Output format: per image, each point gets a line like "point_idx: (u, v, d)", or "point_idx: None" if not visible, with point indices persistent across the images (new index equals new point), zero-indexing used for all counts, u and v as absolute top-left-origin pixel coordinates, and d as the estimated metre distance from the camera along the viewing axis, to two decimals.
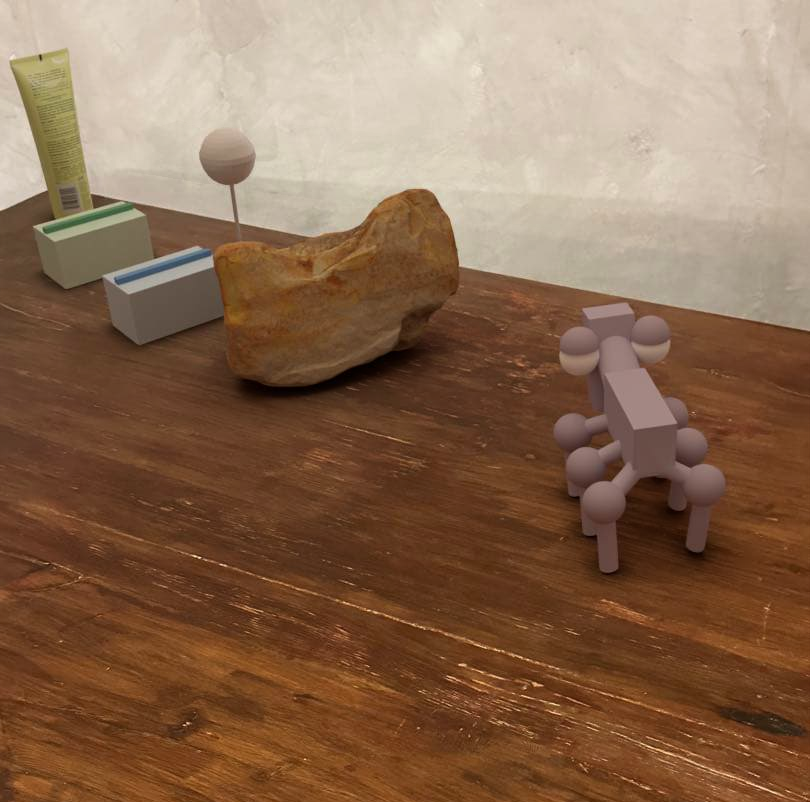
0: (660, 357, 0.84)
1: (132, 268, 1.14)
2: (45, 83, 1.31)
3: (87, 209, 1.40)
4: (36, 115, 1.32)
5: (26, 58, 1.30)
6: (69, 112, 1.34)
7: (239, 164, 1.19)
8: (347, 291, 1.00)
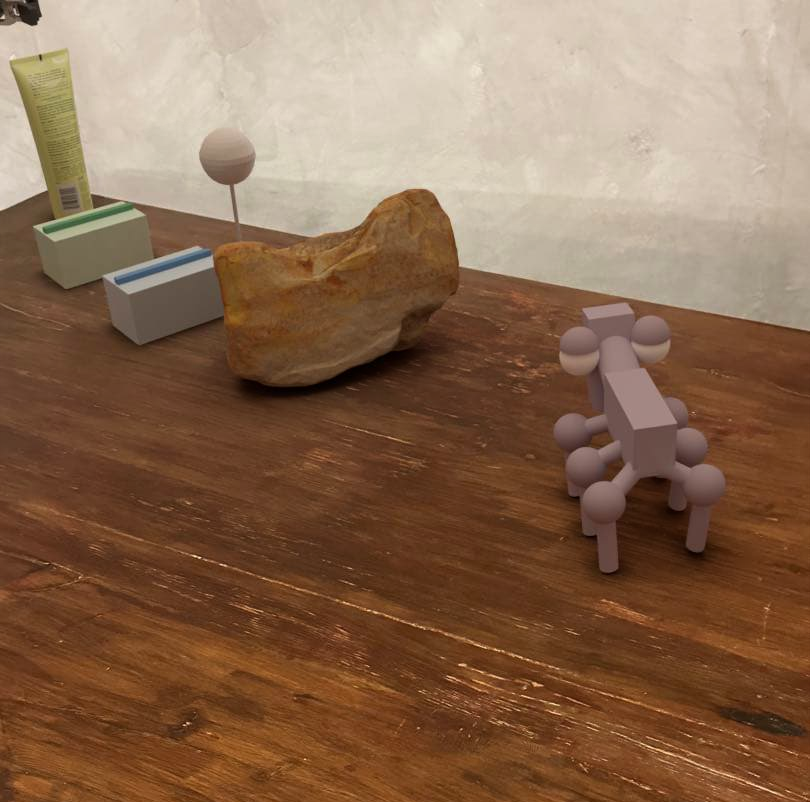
0: (660, 357, 0.84)
1: (132, 268, 1.14)
2: (45, 83, 1.31)
3: (87, 209, 1.40)
4: (36, 115, 1.32)
5: (26, 58, 1.30)
6: (69, 112, 1.34)
7: (239, 164, 1.19)
8: (347, 291, 1.00)
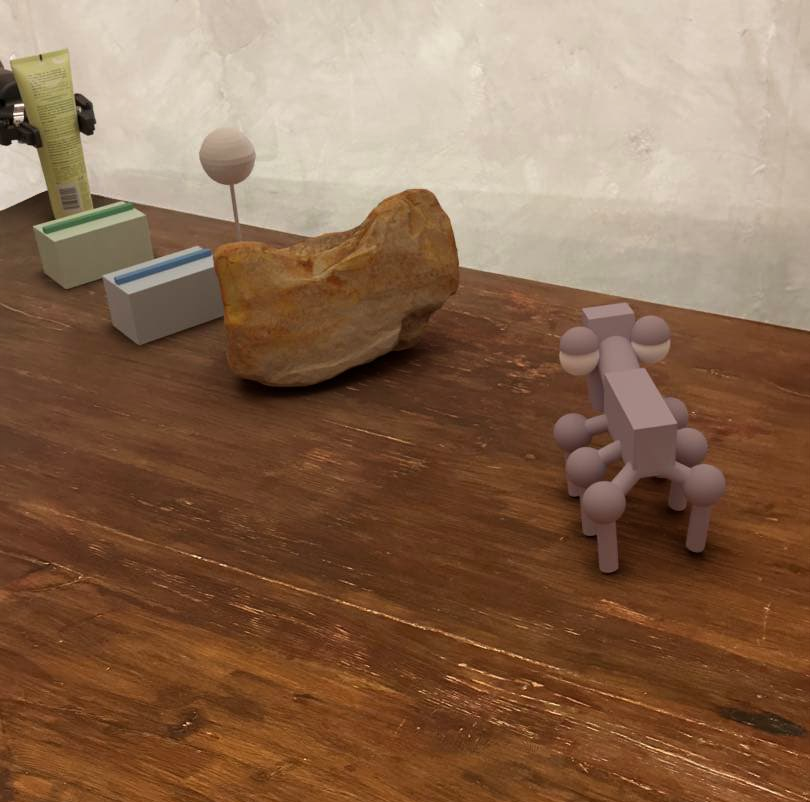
0: (660, 357, 0.84)
1: (132, 268, 1.14)
2: (45, 83, 1.31)
3: (87, 209, 1.40)
4: (36, 115, 1.32)
5: (26, 58, 1.30)
6: (69, 112, 1.34)
7: (239, 164, 1.19)
8: (347, 291, 1.00)
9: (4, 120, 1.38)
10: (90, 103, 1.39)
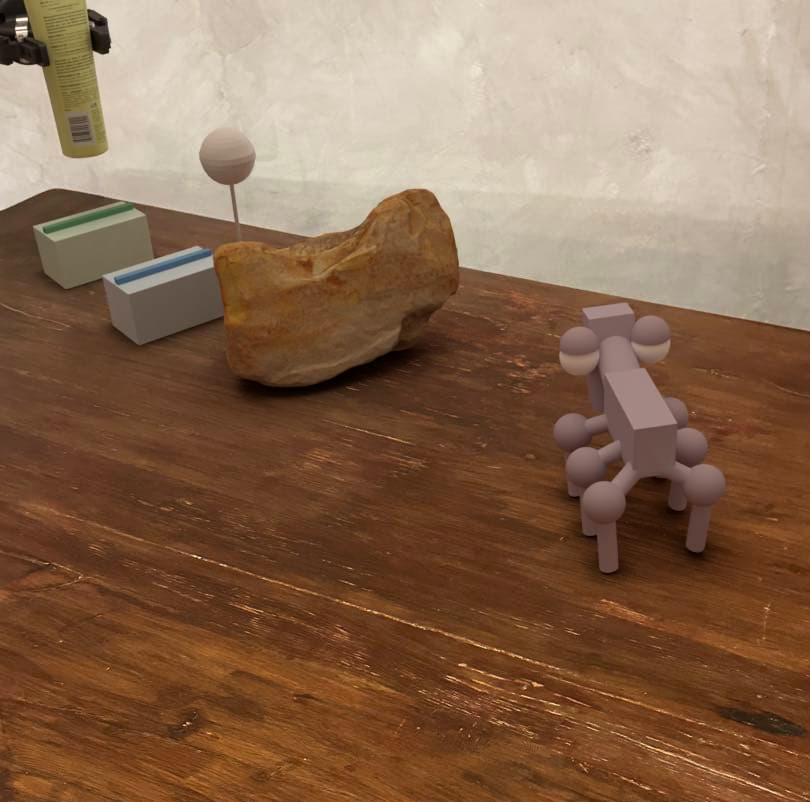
0: (660, 357, 0.84)
1: (132, 268, 1.14)
2: None
3: (101, 143, 1.21)
4: (42, 28, 1.13)
5: None
6: (81, 26, 1.15)
7: (239, 164, 1.19)
8: (347, 291, 1.00)
9: None
10: (104, 18, 1.19)
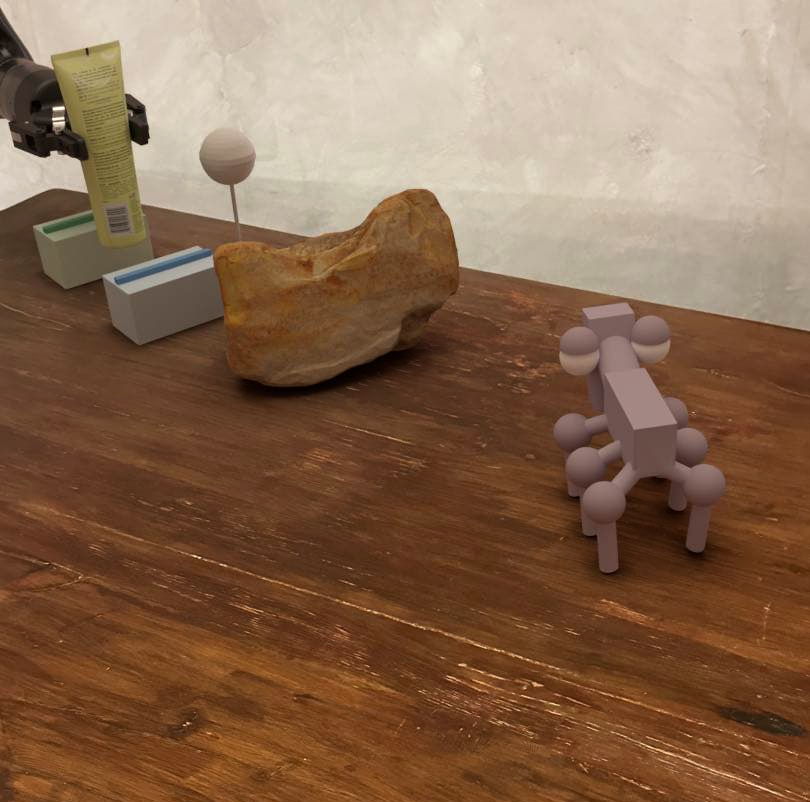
0: (660, 357, 0.84)
1: (132, 268, 1.14)
2: (92, 83, 1.09)
3: (138, 232, 1.18)
4: (81, 122, 1.10)
5: (70, 52, 1.07)
6: (120, 117, 1.12)
7: (239, 164, 1.19)
8: (347, 291, 1.00)
9: (40, 126, 1.16)
10: (142, 106, 1.17)
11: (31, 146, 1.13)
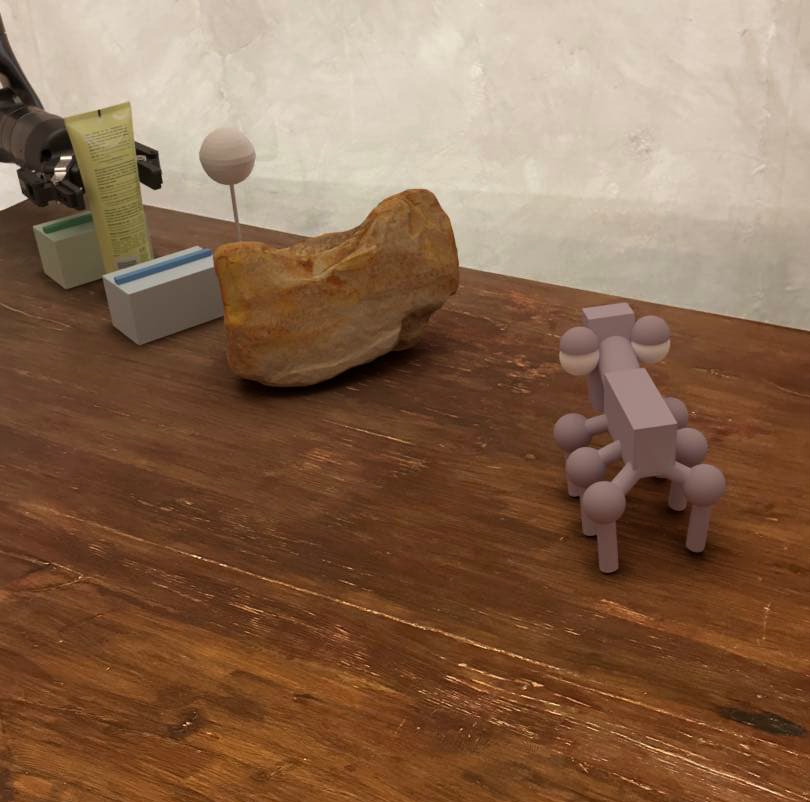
0: (660, 357, 0.84)
1: (132, 268, 1.14)
2: (104, 143, 1.13)
3: None
4: (93, 180, 1.13)
5: (83, 114, 1.11)
6: (131, 175, 1.15)
7: (239, 164, 1.19)
8: (347, 291, 1.00)
9: (48, 174, 1.19)
10: (155, 151, 1.21)
11: (33, 194, 1.17)
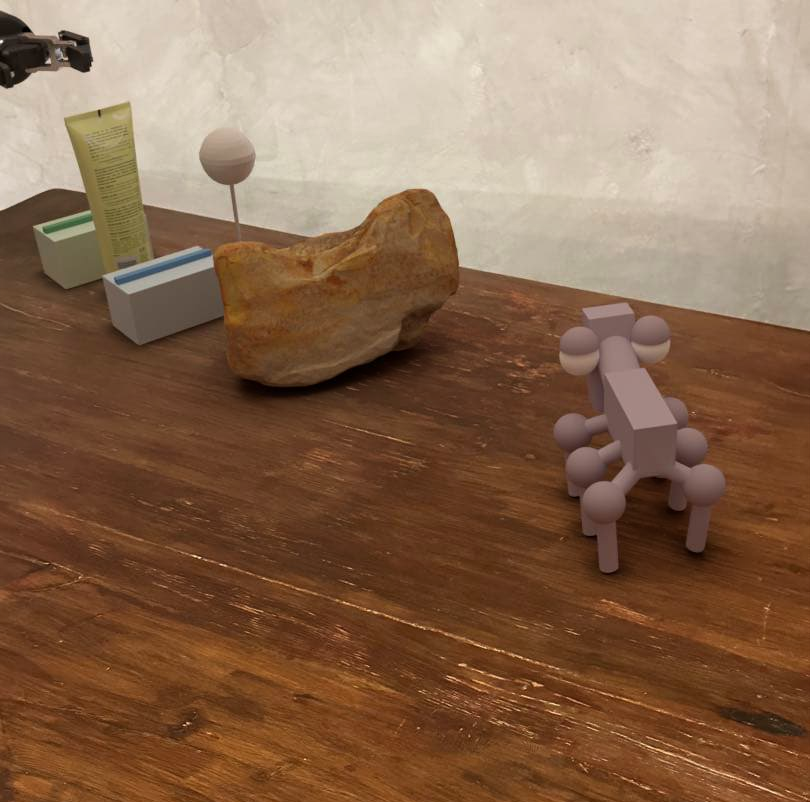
0: (660, 357, 0.84)
1: (132, 268, 1.14)
2: (104, 143, 1.13)
3: None
4: (93, 180, 1.13)
5: (83, 114, 1.11)
6: (131, 175, 1.15)
7: (239, 164, 1.19)
8: (347, 291, 1.00)
9: None
10: (86, 38, 1.23)
11: None
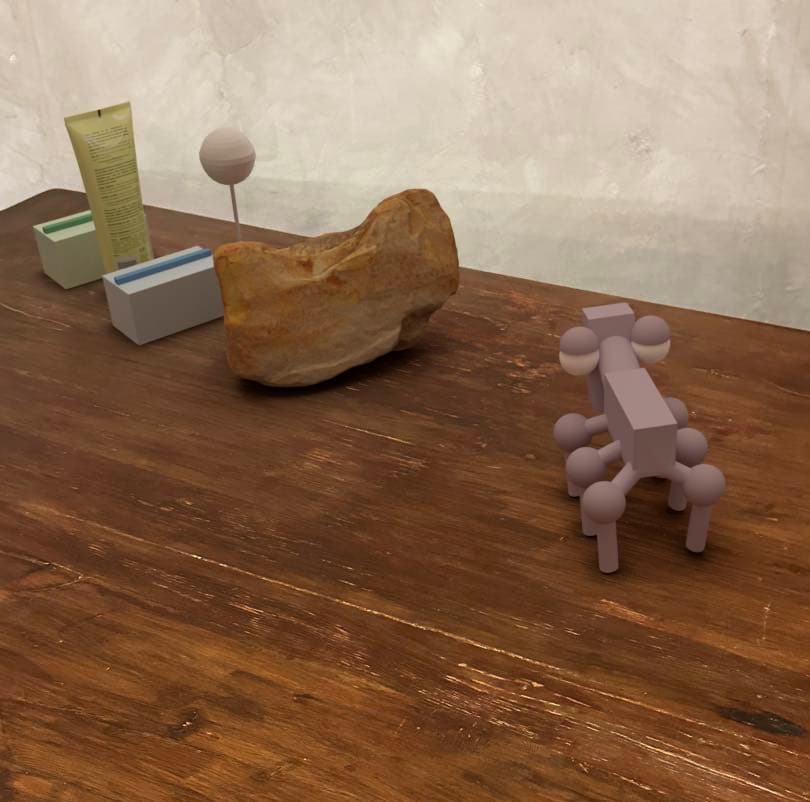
0: (660, 357, 0.84)
1: (132, 268, 1.14)
2: (104, 143, 1.13)
3: None
4: (93, 180, 1.13)
5: (83, 114, 1.11)
6: (131, 175, 1.15)
7: (239, 164, 1.19)
8: (347, 291, 1.00)
9: None
10: None
11: None
